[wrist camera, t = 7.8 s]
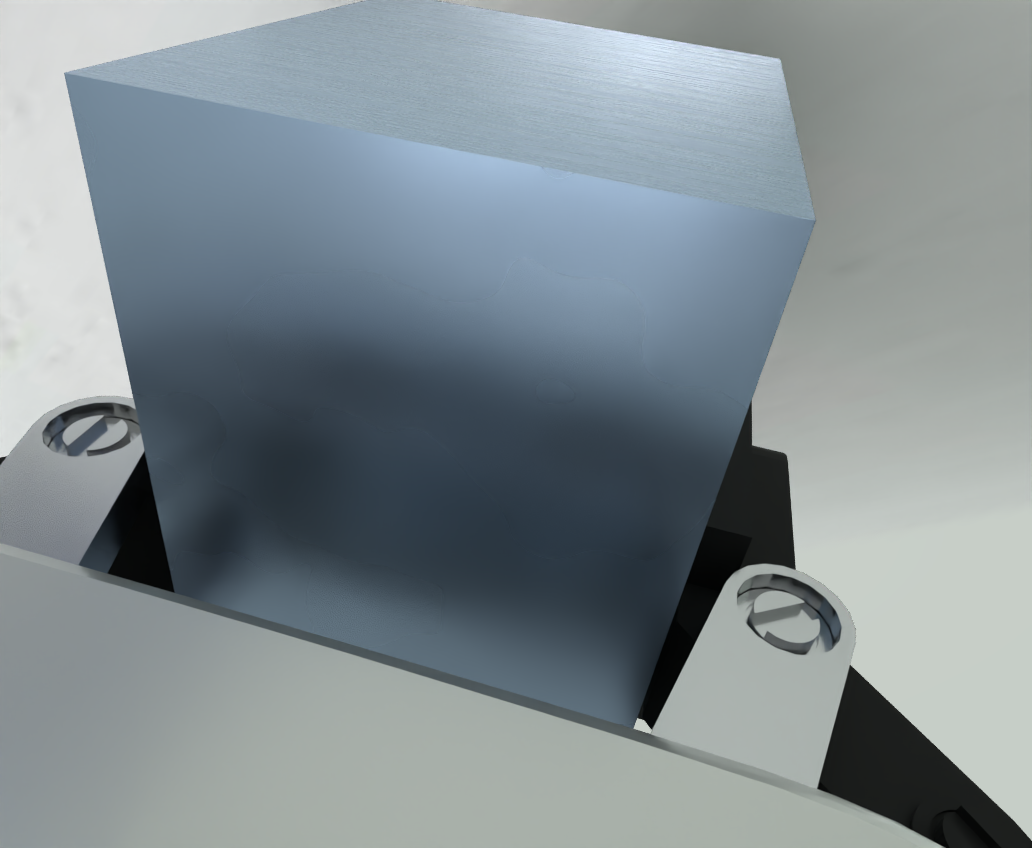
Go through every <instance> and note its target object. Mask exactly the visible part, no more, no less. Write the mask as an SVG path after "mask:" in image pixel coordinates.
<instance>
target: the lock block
mask: <svg viewBox="0 0 1032 848" xmlns="http://www.w3.org/2000/svg"><path fill="white" fill-rule="evenodd" d="M64 74H65V79H66V83H67V88H68V93H69V98H70V102H71V107H72V112H73V116H74V121H75V126H76V131H77V135H78V140H79V145H80V149H81V154H82V159H83V163H84V168H85V173H86V178H87V182H88V187H89V192H90V196H91V201H92V206H93V210H94V215H95V220H96V225H97V229H98V234H99V239H100V243H101V248H102V253H103V257H104V262H105V267H106V272H107V276H108V281H109V286H110V290H111V295H112V300H113V305H114V309H115V314H116V319H117V323H118V328H119V333H120V337H121V342H122V347H123V352H124V356H125V361H126V366H127V370H128V375H129V380H130V384H131V389H132V394H133V399H134V403H135V408H136V413H137V417H138V422H139V427H140V431H141V436H142V441H143V446H144V450H145V455H146V460H147V464H148V469H149V474H150V479H151V483H152V488H153V493H154V497H155V502H156V507H157V511H158V516H159V521H160V526H161V530H162V535H163V540H164V544H165V549H166V554H167V558H168V563H169V568H170V573H171V577H172V582H173V587H174V591H175V593H176V594H180V595H183V596H187V597H190V598H194V599H197V600H201V601H204V602H207V603H211V604H214V605H218V606H221V607H224V608H228V609H231V610H235V611H238V612H242V613H245V614H248V615H252V616H255V617H259V618H262V619H266V620H269V621H272V622H276V623H279V624H283V625H286V626H290V627H293V628H296V629H300V630H303V631H307V632H310V633H313V634H317V635H320V636H324V637H327V638H330V639H334V640H337V641H341V642H344V643H347V644H351V645H354V646H358V647H361V648H364V649H368V650H371V651H375V652H378V653H381V654H385V655H388V656H392V657H395V658H398V659H402V660H405V661H409V662H412V663H416V664H419V665H422V666H426V667H429V668H432V669H436V670H439V671H442V672H446V673H449V674H452V675H456V676H459V677H462V678H466V679H469V680H472V681H476V682H479V683H482V684H486V685H489V686H492V687H496V688H499V689H503V690H506V691H509V692H513V693H516V694H519V695H523V696H526V697H529V698H533V699H536V700H539V701H543V702H546V703H549V704H553V705H556V706H559V707H563V708H566V709H569V710H573V711H576V712H579V713H583V714H586V715H589V716H593V717H596V718H600V719H603V720H606V721H610V722H613V723H616V724H620V725H623V726H626V727H629V728H632V729H633V728H634V725H635V722H636V720H637V717H638V714H639V711H640V709H641V706H642V703H643V700H644V698H645V695H646V692H647V689H648V686H649V684H650V681H651V678H652V675H653V672H654V670H655V667H656V664H657V661H658V659H659V656H660V653H661V650H662V647H663V645H664V642H665V639H666V636H667V633H668V631H669V628H670V625H671V622H672V620H673V617H674V614H675V611H676V608H677V606H678V603H679V600H680V597H681V595H682V592H683V589H684V586H685V583H686V581H687V578H688V575H689V572H690V569H691V567H692V564H693V561H694V558H695V556H696V553H697V550H698V547H699V544H700V542H701V539H702V536H703V533H704V530H705V528H706V525H707V522H708V519H709V517H710V514H711V511H712V508H713V505H714V503H715V500H716V497H717V494H718V492H719V489H720V486H721V483H722V480H723V478H724V475H725V472H726V469H727V466H728V464H729V461H730V458H731V455H732V453H733V450H734V447H735V444H736V441H737V439H738V436H739V433H740V430H741V428H742V425H743V422H744V419H745V416H746V414H747V411H748V408H749V405H750V402H751V400H752V397H753V394H754V391H755V389H756V386H757V383H758V380H759V377H760V375H761V372H762V369H763V366H764V363H765V361H766V358H767V355H768V352H769V350H770V347H771V344H772V341H773V338H774V336H775V333H776V330H777V327H778V325H779V322H780V319H781V316H782V313H783V311H784V308H785V305H786V302H787V299H788V297H789V294H790V291H791V288H792V286H793V283H794V280H795V277H796V274H797V272H798V269H799V266H800V263H801V260H802V258H803V255H804V252H805V249H806V247H807V244H808V241H809V238H810V235H811V233H812V230H813V227H814V224H815V222H816V219H815V215H814V210H813V206H812V201H811V196H810V192H809V187H808V183H807V178H806V174H805V169H804V164H803V160H802V155H801V151H800V146H799V142H798V137H797V132H796V128H795V123H794V119H793V114H792V110H791V105H790V100H789V96H788V91H787V87H786V82H785V78H784V73H783V69H782V64H781V59H778V58H772V57H766V56H760V55H754V54H748V53H743V52H737V51H731V50H725V49H719V48H713V47H707V46H701V45H695V44H690V43H684V42H678V41H672V40H666V39H660V38H654V37H648V36H642V35H636V34H631V33H625V32H619V31H613V30H607V29H601V28H595V27H589V26H583V25H578V24H572V23H566V22H560V21H554V20H548V19H542V18H536V17H530V16H525V15H519V14H513V13H507V12H501V11H495V10H489V9H483V8H477V7H472V6H466V5H460V4H454V3H448V2H442V1H436V0H366V1H361V2H357V3H353V4H349V5H345V6H341V7H336V8H332V9H328V10H324V11H320V12H316V13H311V14H307V15H303V16H299V17H295V18H291V19H286V20H282V21H278V22H274V23H270V24H266V25H261V26H257V27H253V28H249V29H245V30H241V31H236V32H232V33H228V34H224V35H220V36H216V37H211V38H207V39H203V40H199V41H195V42H191V43H186V44H182V45H178V46H174V47H170V48H166V49H161V50H157V51H153V52H149V53H145V54H141V55H136V56H132V57H128V58H124V59H120V60H116V61H111V62H107V63H103V64H99V65H95V66H91V67H86V68H82V69H78V70H74V71H70V72H66V73H64Z"/></svg>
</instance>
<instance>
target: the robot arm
mask: <svg viewBox="0 0 1032 848" xmlns="http://www.w3.org/2000/svg"><path fill="white" fill-rule="evenodd" d="M855 638H856V628H855V626H854V623H853V620H852V618H851V615H850V613H849V611H848V610H847V608H846V607H845V606H844V604H843V603H842V602H841V601H840V599H839V598H838V597H837V596H836V595H835V594H834V593H833V592H832V591H830V590H829V589H828V588H827V587H826V586H825V585H823V584H822V583H820V582H819V581H817V580H815V579H813V578H812V577H810V576H808V575H806V574H805V573H803V572H800V571H797V570H796V568H795V554H794V540H793V526H792V512H791V499H790V485H789V471H788V460H787V455H785V454H784V453H781V452H777V451H773V450H769V449H764V448H760V447H756V446H752V400H751V402H750V405H749V408H748V411H747V414H746V416H745V419H744V422H743V425H742V428H741V430H740V433H739V436H738V439H737V441H736V444H735V447H734V450H733V453H732V455H731V458H730V461H729V464H728V466H727V469H726V472H725V475H724V478H723V480H722V483H721V486H720V489H719V492H718V494H717V497H716V500H715V503H714V505H713V508H712V511H711V514H710V517H709V519H708V522H707V525H706V528H705V530H704V533H703V536H702V539H701V542H700V544H699V547H698V550H697V553H696V556H695V558H694V561H693V564H692V567H691V569H690V572H689V575H688V578H687V581H686V583H685V586H684V589H683V592H682V595H681V597H680V600H679V603H678V606H677V608H676V611H675V614H674V617H673V620H672V622H671V625H670V628H669V631H668V633H667V636H666V639H665V642H664V645H663V647H662V650H661V653H660V656H659V659H658V661H657V664H656V667H655V670H654V672H653V675H652V678H651V681H650V684H649V686H648V689H647V692H646V695H645V698H644V700H643V703H642V706H641V709H640V711H639V714H638V717H637V718H639V719H642V720H645V721H646V723H647V724H648V726H649V727H650V728H651V729H652V732H651V734H648V733H645V732H642V731H638V730H635V729H632V728H629V727H626V726H623V725H620V724H616V723H613V722H610V721H606V720H603V719H600V718H596V717H593V716H589V715H586V714H583V713H579V712H576V711H573V710H569V709H566V708H563V707H559V706H556V705H553V704H549V703H546V702H543V701H539V700H536V699H533V698H529V697H526V696H523V695H519V694H516V693H513V692H509V691H506V690H503V689H499V688H496V687H492V686H489V685H486V684H482V683H479V682H476V681H472V680H469V679H466V678H462V677H459V676H456V675H452V674H449V673H446V672H442V671H439V670H436V669H432V668H429V667H426V666H422V665H419V664H416V663H412V662H409V661H405V660H402V659H398V658H395V657H392V656H388V655H385V654H381V653H378V652H375V651H371V650H368V649H364V648H361V647H358V646H354V645H351V644H347V643H344V642H341V641H337V640H334V639H330V638H327V637H324V636H320V635H317V634H313V633H310V632H307V631H303V630H300V629H296V628H293V627H290V626H286V625H283V624H279V623H276V622H272V621H269V620H266V619H262V618H259V617H255V616H252V615H248V614H245V613H242V612H238V611H235V610H231V609H228V608H224V607H221V606H218V605H214V604H211V603H207V602H204V601H201V600H197V599H194V598H190V597H187V596H183V595H180V594H176V593H175V591H174V587H173V582H172V577H171V573H170V568H169V563H168V558H167V554H166V549H165V544H164V540H163V535H162V530H161V526H160V521H159V516H158V511H157V507H156V502H155V497H154V493H153V488H152V483H151V479H150V474H149V469H148V464H147V460H146V455H145V450H144V446H143V441H142V436H141V431H140V427H139V422H138V417H137V413H136V408H135V403H134V399H132V398H126V397H120V396H96V397H90V398H84V399H78V400H75V401H72V402H69V403H66V404H63V405H60V406H58V407H57V408H55V409H53V410H51V411H49V412H47V413H46V414H44V415H43V416H42V417H41V418H40V419H39V420H37V421H36V422H35V423H34V424H33V425H32V426H31V428H30V429H29V430H28V431H27V433H26V434H25V435H24V436H23V438H22V439H21V440H20V441H19V443H18V444H17V445H16V446H15V447H14V449H13V450H12V451H11V452H10V454H9V455H8V456H6V457H1V458H0V848H1032V841H1031V840H1030V838H1029V837H1028V836H1027V835H1026V834H1025V833H1024V832H1023V831H1022V830H1021V828H1020V827H1019V826H1018V825H1017V824H1016V823H1015V822H1014V821H1013V820H1012V819H1011V818H1010V817H1009V816H1008V815H1007V814H1006V813H1005V812H1004V811H1003V810H1002V809H1001V808H1000V807H999V806H998V805H997V804H996V803H994V801H992V800H991V799H990V798H989V797H988V796H987V795H986V794H985V793H984V792H983V791H982V790H981V789H980V788H979V787H978V786H977V785H976V784H975V783H974V782H973V781H971V780H970V779H969V778H968V777H967V776H966V775H965V774H964V773H963V772H962V771H961V770H960V769H959V768H958V767H957V766H956V765H955V764H953V762H952V761H951V760H949V759H948V758H947V757H946V756H945V755H944V754H943V753H942V752H941V751H940V750H939V749H938V748H937V747H936V746H935V745H934V744H933V743H931V742H930V740H928V739H927V738H926V737H925V736H924V735H923V734H922V733H921V732H920V731H919V730H918V729H917V728H916V727H915V726H914V725H913V724H912V723H911V722H910V721H909V720H907V719H906V718H905V717H904V716H903V715H902V714H901V713H900V712H899V711H898V710H897V709H896V708H895V707H894V706H893V705H892V704H890V702H888V700H886V699H885V698H884V697H883V696H882V695H881V694H880V693H879V692H878V691H877V690H876V689H875V688H874V687H873V686H872V685H871V684H869V682H868V681H866V680H865V679H864V678H863V677H862V676H861V675H860V674H859V673H858V672H857V671H856V670H855V669H854V668H853V667H852V666H851V665H850V663H851V659H852V655H853V651H854V647H855Z"/></svg>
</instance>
